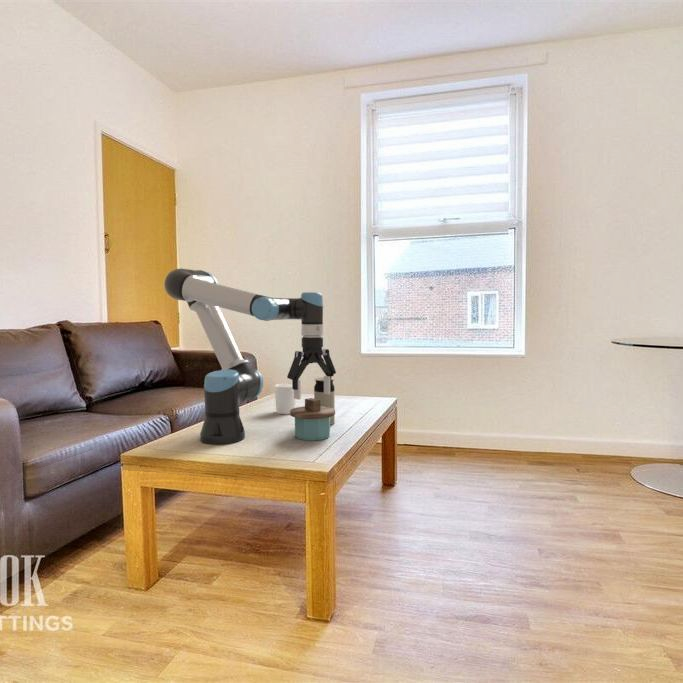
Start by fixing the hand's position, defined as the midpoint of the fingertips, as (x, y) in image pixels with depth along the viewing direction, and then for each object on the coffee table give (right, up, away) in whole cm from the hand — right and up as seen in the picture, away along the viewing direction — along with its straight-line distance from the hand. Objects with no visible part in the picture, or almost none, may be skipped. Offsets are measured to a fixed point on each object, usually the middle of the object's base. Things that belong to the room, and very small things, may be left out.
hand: (312, 396), depth 167 cm
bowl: (0, -14, +1) cm, 14 cm away
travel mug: (+3, -13, +19) cm, 24 cm away
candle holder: (-14, -12, +40) cm, 44 cm away
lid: (0, -6, 0) cm, 6 cm away
